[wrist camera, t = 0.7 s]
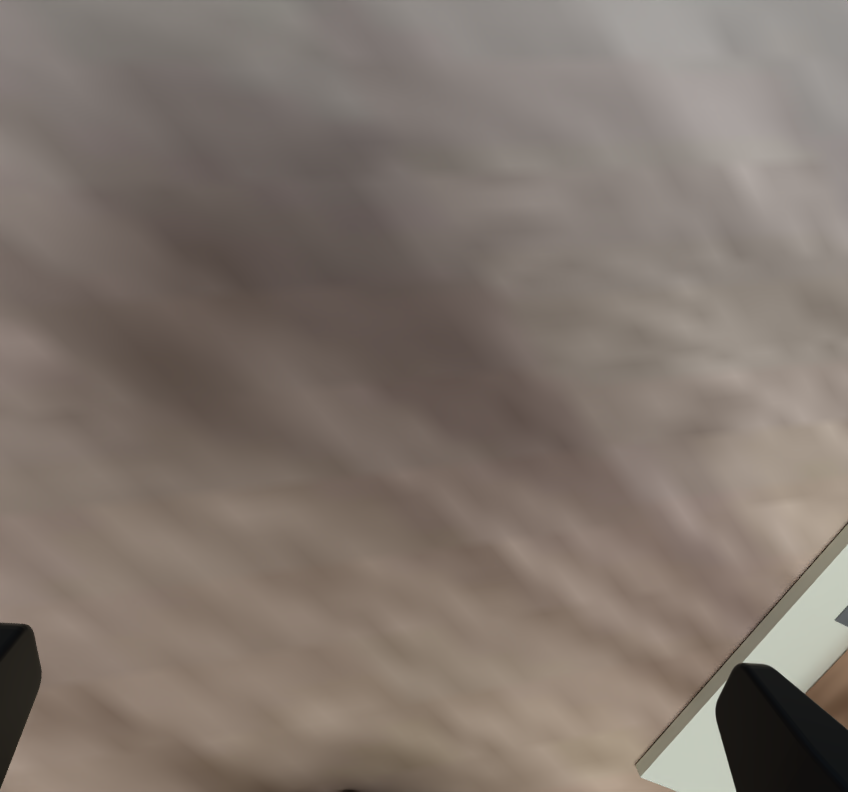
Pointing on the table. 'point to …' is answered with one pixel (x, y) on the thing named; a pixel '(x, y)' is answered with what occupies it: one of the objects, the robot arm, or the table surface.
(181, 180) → the table surface
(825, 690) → the terracotta block
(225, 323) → the table surface
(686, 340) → the table surface
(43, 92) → the table surface
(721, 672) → the letter board
